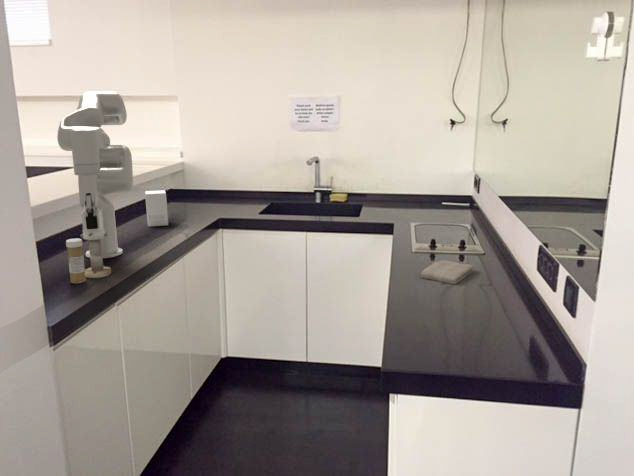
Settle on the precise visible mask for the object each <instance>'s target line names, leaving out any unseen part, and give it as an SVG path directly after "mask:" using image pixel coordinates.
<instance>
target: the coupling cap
mask: <svg viewBox="0 0 634 476" xmlns="http://www.w3.org/2000/svg"><path fill="white" fill-rule="evenodd" d="M95 212H96V216H97V224H98V228H97V229H87V227H86V210H85V209H84V210H83V211H82V212H81V222H82V223H81V224H82V234H80V235H79V236H80V238H82V240H85V241H88V240H97V239H102V238H104V237H107V236H108V233H105V230H104V228H103V217H102V210H95Z"/></svg>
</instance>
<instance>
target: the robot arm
mask: <svg viewBox="0 0 634 476" xmlns="http://www.w3.org/2000/svg"><path fill="white" fill-rule="evenodd" d="M127 117H128V116H127V109H126V105H125V101H124V98H122V95H120V94H119V93H118V92H116V91H97V90H96V91H94V90H93V91H92V90H91V91H86V92H84V93H82V95H80V98H79V101H78V106H77V108H76V110H75V111H73V112H72V113H70V114H67V115H66V116H65V117H63V118H62V119H61V120H60V122H59V125H58V129H57V139H56V140H57V144H58V146H59V147H60V149H61V150H63V151H65V152H71V153H72V164H73V173H74V175H75V176H77V177H78V178H77V181H78V185H77V186H78V197H79V207H80V208H83V207H84V211H85V210H86V227H87V229H97V228H98V224H97V216H96V212H95V210H102V217H103V228H104V230H105V233H108V236H107V237H104V238H102V239H101V248H102V259H110V258H115V257H118V256H120V255H122V254H123V248H120V247H119V245H118V235H117V226H116V215H115V213H116V212H115V206H114V204H113V202H112V201H111V200H110V198H108V197H107V195H118V194H119V195H122V194H123V195H124V194H125V195H126V194H129V193H131V191H133V187H134V175H133V173H134V172H133V170H134V169H133V159H132V153H131V150H130V148H129V147H128V146H126V145H123V144H111V139H110V136H109V134H107V133H106V131H105V130H104V129H103V128H101V127H102V126H122V125H124V124H125V123H126V121H127ZM85 257H87V258H89V259H90V251H89V250H86V252H85Z"/></svg>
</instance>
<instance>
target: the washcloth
mask: <svg viewBox="0 0 634 476" xmlns="http://www.w3.org/2000/svg"><path fill="white" fill-rule="evenodd" d="M473 269H474V265H472V264H467V263H459V262H456V261H455V262H454V261H452V260H444V259H443V260H440V261H434V262H433V263H432V264H431V265H429V266H427V267H426V268H424V269H422V271H421V273H420V277H421V278H422V279H425V280H431V281H436V282H440V283H446V284H451V285H456V284H457V283H460V281H462V280H463V279H465V278H466V277H467V276H468V275H470V274H471V273H472V272H474V270H473Z"/></svg>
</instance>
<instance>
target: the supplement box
mask: <svg viewBox="0 0 634 476" xmlns="http://www.w3.org/2000/svg"><path fill="white" fill-rule="evenodd" d="M144 193H145V195H144V196H145V208H146V218H147V219H146V221H147V226H148V227H161V226H162V227H163V226H169V217H168V213H169V212H168V202H167V201H168V200H167V193H166V191H165V189H163V190H145V191H144Z"/></svg>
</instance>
